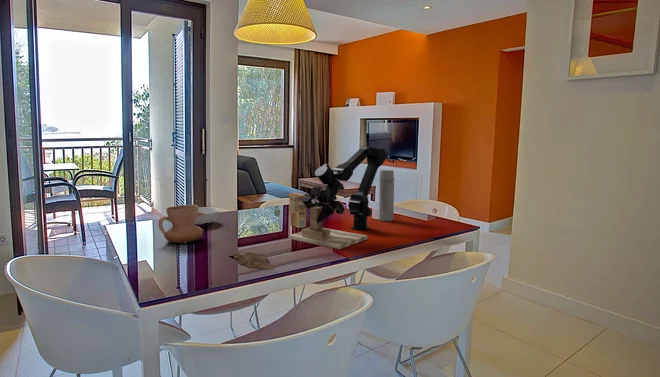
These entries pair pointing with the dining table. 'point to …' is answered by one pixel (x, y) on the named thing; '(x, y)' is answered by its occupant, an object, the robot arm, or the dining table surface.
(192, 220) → the ceramic jug
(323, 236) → the block
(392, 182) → the water bottle
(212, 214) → the serving bowl
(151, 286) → the dining table surface
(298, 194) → the candy box
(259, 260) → the wooden fragment
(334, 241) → the birch board
